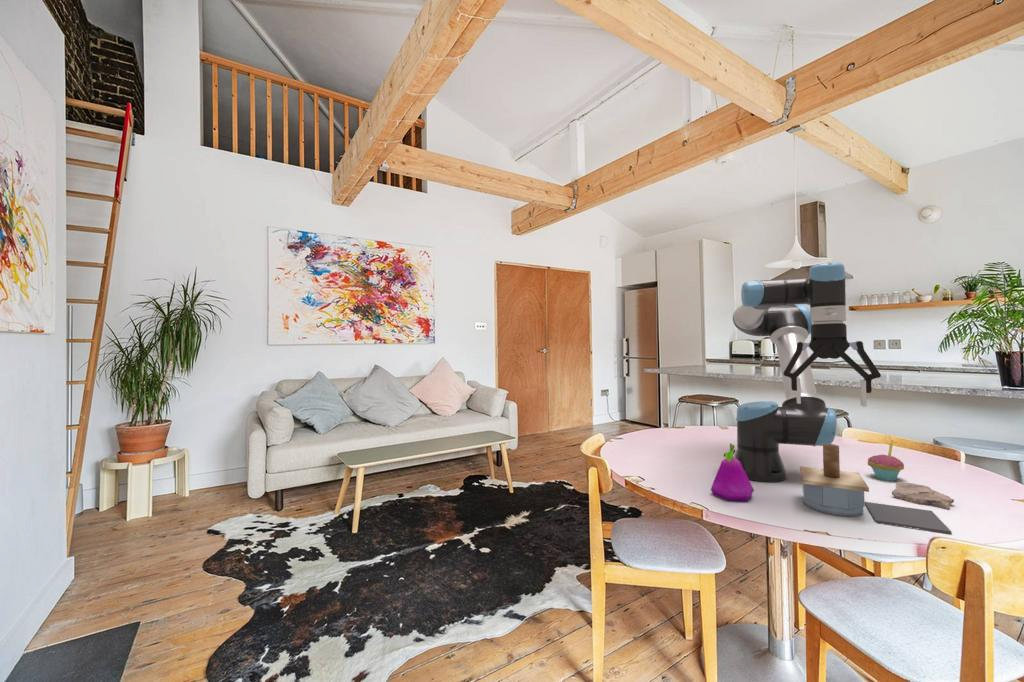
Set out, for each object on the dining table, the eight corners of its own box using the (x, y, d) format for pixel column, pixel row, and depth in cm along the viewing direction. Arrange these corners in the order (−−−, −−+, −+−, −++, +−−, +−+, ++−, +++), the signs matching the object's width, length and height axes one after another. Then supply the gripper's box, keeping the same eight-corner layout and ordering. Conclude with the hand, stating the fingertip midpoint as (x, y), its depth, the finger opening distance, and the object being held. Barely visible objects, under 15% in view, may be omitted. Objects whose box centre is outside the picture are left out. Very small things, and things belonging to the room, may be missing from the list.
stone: (955, 500, 114) (955, 490, 114) (952, 513, 106) (952, 502, 106) (897, 489, 123) (897, 479, 123) (890, 500, 115) (890, 490, 115)
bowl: (805, 510, 108) (804, 483, 108) (801, 495, 119) (801, 470, 119) (867, 520, 102) (867, 491, 102) (858, 502, 113) (857, 476, 113)
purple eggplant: (703, 490, 125) (702, 439, 125) (738, 488, 126) (737, 437, 126) (725, 504, 114) (724, 448, 114) (764, 502, 115) (762, 447, 115)
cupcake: (890, 474, 135) (889, 436, 135) (912, 483, 126) (911, 442, 126) (861, 473, 136) (860, 436, 136) (881, 482, 127) (880, 443, 127)
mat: (875, 522, 101) (875, 520, 101) (864, 503, 112) (864, 501, 112) (951, 534, 94) (951, 531, 94) (931, 513, 105) (931, 510, 105)
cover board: (803, 483, 108) (802, 448, 108) (799, 469, 120) (799, 437, 120) (869, 491, 102) (868, 454, 102) (858, 476, 113) (858, 442, 113)
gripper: (772, 324, 114) (774, 403, 114) (894, 320, 101) (897, 409, 101) (771, 325, 120) (773, 400, 120) (887, 321, 108) (889, 405, 107)
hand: (830, 404), depth 111 cm, fingers open, 13 cm apart
